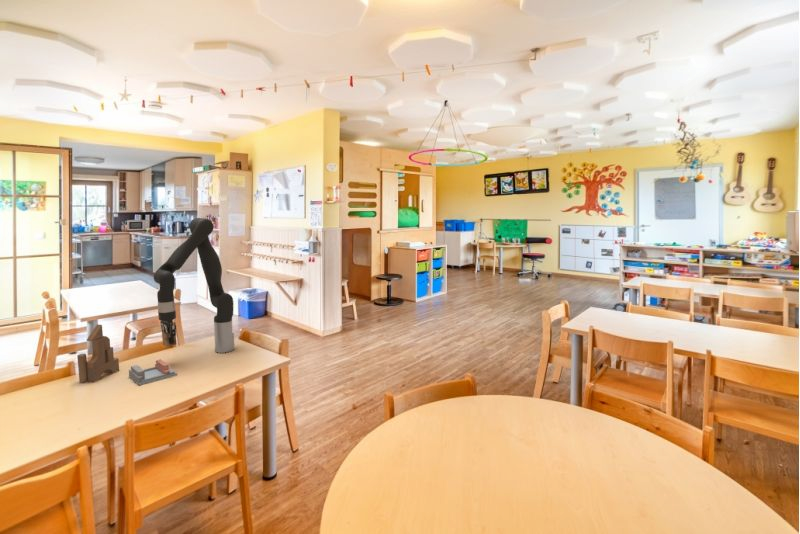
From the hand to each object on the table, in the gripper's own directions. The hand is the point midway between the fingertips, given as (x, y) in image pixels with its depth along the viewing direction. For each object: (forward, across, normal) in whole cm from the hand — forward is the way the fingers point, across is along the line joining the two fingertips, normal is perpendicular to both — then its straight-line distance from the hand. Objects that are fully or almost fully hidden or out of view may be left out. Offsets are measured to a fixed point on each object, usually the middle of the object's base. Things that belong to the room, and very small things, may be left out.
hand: (169, 342), depth 199 cm
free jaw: (+10, -9, +7) cm, 15 cm away
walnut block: (+1, 0, 0) cm, 1 cm away
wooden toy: (+11, +8, +28) cm, 31 cm away
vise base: (+11, -9, +11) cm, 18 cm away
